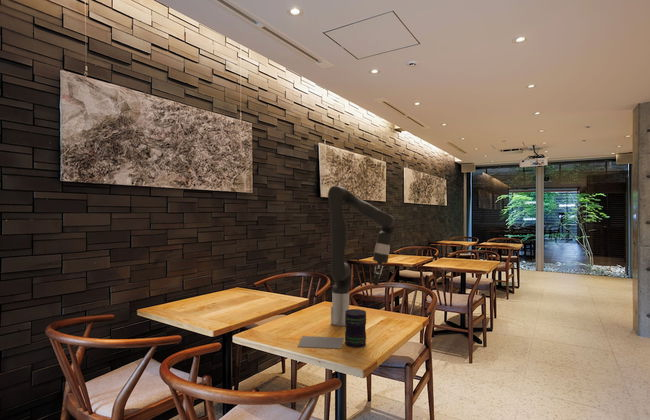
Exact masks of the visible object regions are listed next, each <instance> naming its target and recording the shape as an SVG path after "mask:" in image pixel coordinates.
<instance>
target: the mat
mask: <svg viewBox="0 0 650 420" xmlns="http://www.w3.org/2000/svg"><path fill="white" fill-rule="evenodd" d="M343 343H344V337H339V336H338V337H337V336H336V337H335V336H310V335H308V336H307V335H302V336H301V338H300V339H299V342H298V345H297V348H309V349H310V348H311V349H331V350H332V349H335V350H337V349H338V350H342V349H343Z"/></svg>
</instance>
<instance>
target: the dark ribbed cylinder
mask: <svg viewBox="0 0 650 420" xmlns="http://www.w3.org/2000/svg"><path fill="white" fill-rule="evenodd" d="M345 324H346V325H345V332H344V345H345V346H346V347H349V348H352V349H361V348H364V347H366V342H367V332H366V326H367V311H366V310H364V309H359V308H357V309H356V308H353V309H352V308H351V309H350V308H349V310H346V311H345Z"/></svg>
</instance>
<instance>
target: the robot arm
mask: <svg viewBox="0 0 650 420" xmlns="http://www.w3.org/2000/svg"><path fill="white" fill-rule="evenodd" d="M327 197H328V206H329V221H330V222H329V223H330V251H331V253H330V254H331V255H330V256H331V257H330V259H331V260H330V268H329V269H330V276H331V278H332V279H333V280H334V284H333V286H332V287H331V288H332V290H331V291H332V292H331V294H332V298H331V299H332V301H331V304H332V305H331V306H330V324H331V325H334V326H337V327H338V326H339V327H342V326H343V327H346V324H345V311H346V310H350V288H351V284H352V283H351V279H352V270H351V266H350V265H349V264H348V263H347V262H345V251H346V248H347V243H348V226H347V225H348V224H347V222H346V218H345V217H344V212H343V204H344V205H346V206H349V207H351V208H352V209H354V210H355V211H356V212H358V213H359V214H360V215H361V216H364V217H365V218H366V219H369V220H371V221H373V222H375V223H376V224H378V225H379V226H380V227H381V228H380V231H379V232H378V234H377V239H376V243H375V247H374V252H373V256H372V261H374V262H377V263H376V264H375V266H374V272H373V273H374V276H373V277H374V280H373V285H374V286H378V285H379V282H380V278H381V275H382V272H383V268H384V266H383V264H388V262H389V256H390V251H391V250H390V249H391V243H392V237H393V234H394V231H395V228H396V219H395V217H394V216H393V215H391V214H389V213H387V212H385V211H382V210H381V209H379V208H377V207H376V206H374V205H372V204H371V203H369V202H367V201H365V200H362V199H361V198H360V197H358V196H355V194H353V193H352V192H351V191H349V190H348V189H347V188H345V187H343V186H339V185H333V186H330V188H329V190H328V193H327Z"/></svg>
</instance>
